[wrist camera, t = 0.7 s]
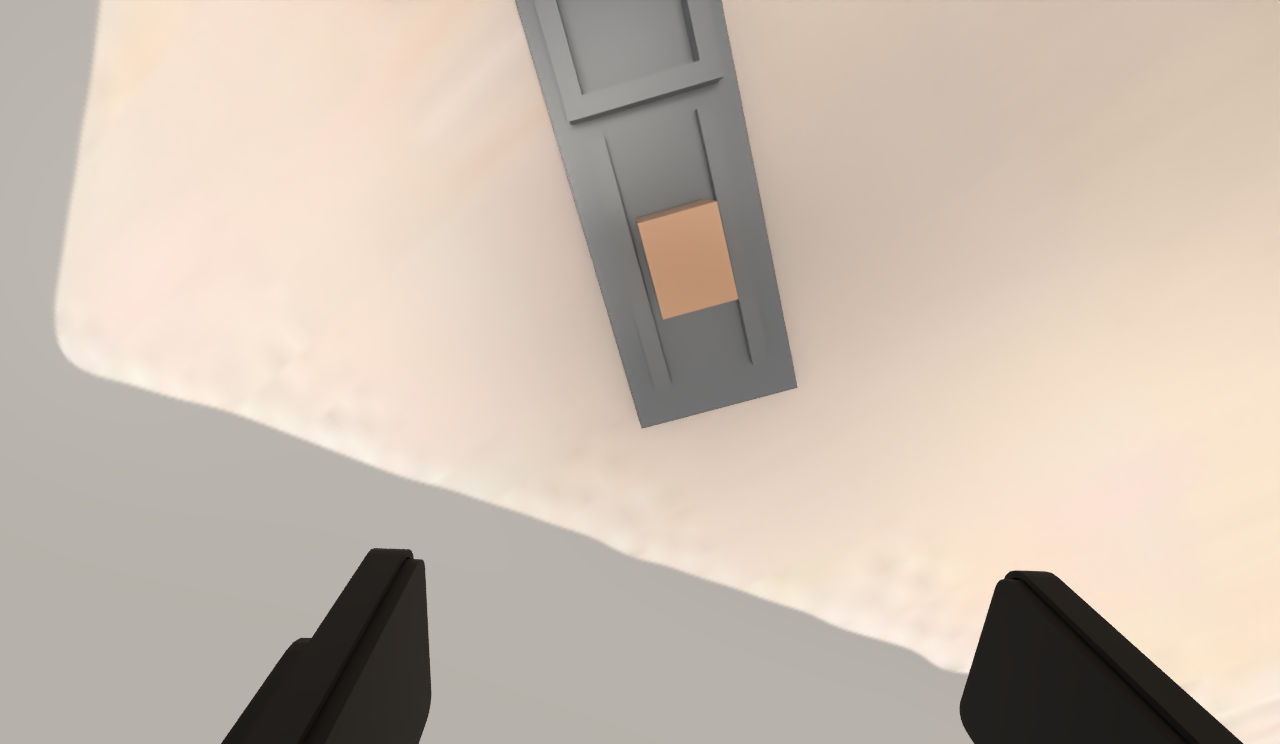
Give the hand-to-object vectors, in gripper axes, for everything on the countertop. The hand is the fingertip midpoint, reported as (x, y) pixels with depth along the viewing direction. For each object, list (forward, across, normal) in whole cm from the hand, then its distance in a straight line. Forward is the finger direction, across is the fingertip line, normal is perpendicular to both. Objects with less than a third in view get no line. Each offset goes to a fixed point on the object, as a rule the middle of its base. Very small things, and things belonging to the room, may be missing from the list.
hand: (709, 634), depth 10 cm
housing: (+27, -1, -7) cm, 28 cm away
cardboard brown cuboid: (+26, -2, -3) cm, 26 cm away
